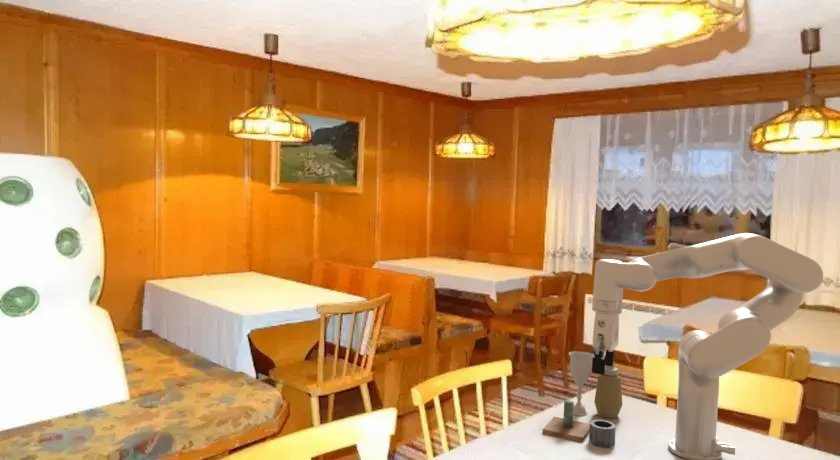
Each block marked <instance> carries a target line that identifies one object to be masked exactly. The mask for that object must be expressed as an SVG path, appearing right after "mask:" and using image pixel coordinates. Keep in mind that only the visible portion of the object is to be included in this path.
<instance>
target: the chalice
mask: <svg viewBox="0 0 840 460" xmlns="http://www.w3.org/2000/svg"><path fill="white" fill-rule="evenodd" d="M568 355H569V359H570V361H569V363H570V364H569V371H570V374H571V377H572V379H573V382H574V383H575V384H576V385H577V389H576V392H577V395H576V399H577V401H576V403H574V410H573V416H576V417H577V416H578V417H583V416H587V415H588V412H587V410H586V407H585V405H584V404H583V403H582V402H581V401H582V398H583V396H582V392H583V390H582V386H583V385H585V384H586V383H587V381H588V380H589V378H590V375H591V373H592V360H593V353H591V352H588V351H578V350H576V351H574V350H573V351H569V352H568Z"/></svg>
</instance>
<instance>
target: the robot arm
mask: <svg viewBox="0 0 840 460" xmlns="http://www.w3.org/2000/svg"><path fill="white" fill-rule="evenodd" d="M741 269H748V270H750V271H752V272H754V273H756V274H758V275H759V276H762V277H763V278H765V279H768V283H767V285H766V287H765V288H764V289H763V290H762V291H761V292H760V293H758V294H757V295H755V296H753V297H752V298H750V299H749V300H747V301H746V302H744V303H743V304H741V305H739V306H737V307H735V308H733V309H731V310H730V311H728V312H727V313H724V314H723V315H722V316H721V317H720V319H719V320H718V324H717V327H718V328H717V329H718V330H717V331H715V332H713V333H710V332H708V331H706V330H702V329H701V330H700V329H693V330H691V331H688V332H686V333H685V334H684V335H683V336H682V338H681V339H680V340H679V344H678V353H677V355H678V357H677V358H678V383H677V384H678V385H677V396H676V397H677V399H676V400H677V401H676V419H675V437H674V438H672V439H671V440H669V441H668V443H667V446H668V450H670V452H672V453H673V454H674V455H676V456H679V457H680V458H683V459H686V460H721V459H722V457H723V453H725V454H728V455H732V456H735V455H736V447H735V446H732V445H731V443H729V442H728V443H727V442H722V441H721V440H718V437H719V435H717V426H718V411H719V410H718V409H719V408H718V407H719V397H720V396H719V395H720V394H719V393H720V392H719V391H720V377H721V376H723V375H726V374H728V373H730V372H732V371H733V370H735V369H737V368H738V367H740V366H742V365H744V364H746V363H747V362H749V361H751V360H753V359H754V358H756V357H758V356H759V355H760V354H762V353H763V352H764V351H765V350H766V349H767V347H768V346H769V345H770V342H771V338H772V336H771V335H772V333H771V331H773V329H775V328H776V327H778V326H780V325H782V324H783V323H784V322H786V321H788V320H789V319H790V318H791V317H793V316H794V315H795V314H796V312H797V311H798V310H799V307H800V306H801V304H802V302H803V298H804V294H807V293H810V292H813V291H815V290H817V289H818V288H819V287H820V285H822V283H823V279H824V272H823V269H822V266H820V264H819V263H818V262H817V261H816V260H814V259H812V258H811V257H808V256H806V255H804V254H802V253H799V252H797V251H795V250H793V249H790V248H788V247H786V246H785V245H783V244H779V243H778V242H776V241H774V240H772V239H769V238H767V237H765V236H763V235H761V234H756V233H751V232H743V233H737V234H733V235H728V236H726V237H721V238H717V239H712V240H709V241H705V242H700V243H697V244H692V245H689V246H683V247H679V248H674V249H671V250H667V251H662V252H656V253H652V254H649V255H644V256H641V257H637V258H634V259H632V260H631V259H630V260H629V261H628V262H623V261H621V260H619V259H612V258H611V259H610V258H600V259H597V260H596V262H595V265H594V279H593V280H594V281H593V290H592V291H593V293H592V294H593V295H592V303H591V305H592V307H591V310H592V312H595V313H594V314H595V315H594V322H593V334H592V348H593V349H594V350H593V351H592V352H593V353H592V354H593V358H592V363H591V373H592V374H596V375H599V374H600V375H604V374H605V366H613V362H614V354H615V351H614V350H615V349H616V348H617V347H618V345H619V333H620V315H621V314H622V312H623V299H624V289H627V290H632V291H636V292H646V291H650V290H651V289H652V288H654V287H655V286H656V284H657V282H661V281H665V280H670V279H678V278H683V279H684V278H685V279H686V278H687V279H702V278H706V277H710V276H715V275H719V274H724V273H726V272H733V271H736V270H741Z"/></svg>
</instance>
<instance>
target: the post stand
mask: <svg viewBox="0 0 840 460" xmlns="http://www.w3.org/2000/svg"><path fill="white" fill-rule="evenodd" d="M563 401H564V402H563V418H562V417H559V416H558V417H557V416H553V417H552V419H550V420H549V422H547V424H546V425H545V426H544V427H543V428H542V434H545V435H549V436H554V437H557V438H558V437H559V438H563V439H567V440H572V441H576V442H581V443H584V441H585V440H586V439H587V437H588V436H589V434H590V423H588V422H583V421H577V420H574V415H573V410H574V404H575V403H574V401H573V400H566V399H565V400H563Z"/></svg>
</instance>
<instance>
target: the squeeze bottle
mask: <svg viewBox="0 0 840 460" xmlns="http://www.w3.org/2000/svg"><path fill="white" fill-rule="evenodd" d="M597 376H598V377H597V383H596V388H595V393H594V394H595V395H594V401H593V402H594V406H595V409H596V412H597V415H598V416H600V417H602V418H607V419H614V418H618V417H619V414H620V412H621V410H622V408H623V393H622V391H623V389H622V377H621V376H620V375H619V368H617V367H616V366H615V361H613V366H606V365H605V374H604V375H600V374H597Z"/></svg>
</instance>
